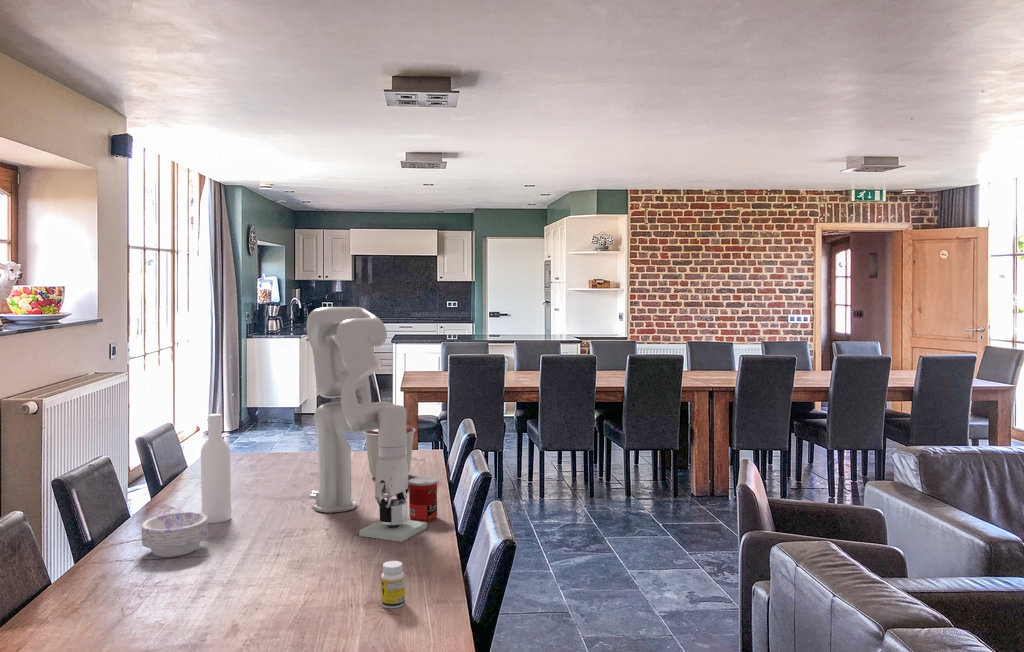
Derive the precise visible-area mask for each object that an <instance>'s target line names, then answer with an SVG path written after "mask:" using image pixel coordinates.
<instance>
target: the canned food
mask: <svg viewBox="0 0 1024 652" xmlns="http://www.w3.org/2000/svg"><path fill="white" fill-rule="evenodd" d="M408 480H409V481H410V486H409V488H408V503H409V506H408V507H409V509H408V512H409V520H412V521H420V522H427V523H428V522H433V521H435V520H436V519H437V517H438V480H437V479H436V478H434V477H429V476H428V477H427V476H422V477H414V478H410V479H408Z"/></svg>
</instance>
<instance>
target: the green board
mask: <svg viewBox="0 0 1024 652" xmlns="http://www.w3.org/2000/svg"><path fill="white" fill-rule="evenodd" d="M427 526H428V522H420V521H413V520H411V519H407V522H405V523H403V524H400V526H399V527H397V528H389V527H388V525H385V524H381V523H380V521H379V520H377V521H375V522H373V523H371V524H369V525H368V526H365V527H363V528H361V529H359V531H358V532H359V533H358V534H359V537H365V538H372V539H380V540H388V541H393V542H399V543H400V542H404V541H406V540H407V539H409V538H411V537H413V536H415V535H416V534H418V533H420V532H423V530H426V529H427Z"/></svg>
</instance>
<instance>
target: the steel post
mask: <svg viewBox="0 0 1024 652" xmlns="http://www.w3.org/2000/svg"><path fill="white" fill-rule="evenodd" d="M390 505H399V499H397V498H391V503H390ZM399 526H400V524H398V525H388V527H389V528H397V527H399Z"/></svg>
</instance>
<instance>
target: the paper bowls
mask: <svg viewBox="0 0 1024 652" xmlns="http://www.w3.org/2000/svg"><path fill="white" fill-rule="evenodd" d="M140 530H141V546H142V547H144V548H147V549H150V551H151V552H152V553H153V554H154V556H157V557H162V558H173V557H174V558H175V557H180V556H186V555H189V554H191V553H192V552H194V551H196V550H198V548H199V546H200V544H201V542H202V541H204V540H206V539H207V538H208V537H209V523H208V517H207V516H206V515H205V514H202V512H196V511H182V512H181V511H180V512H171V513H165V514H161V515H157V516H156V515H155V516H154V517H150V518H148V519H146V520H145V521H143V523H142V524H141V529H140Z"/></svg>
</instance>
